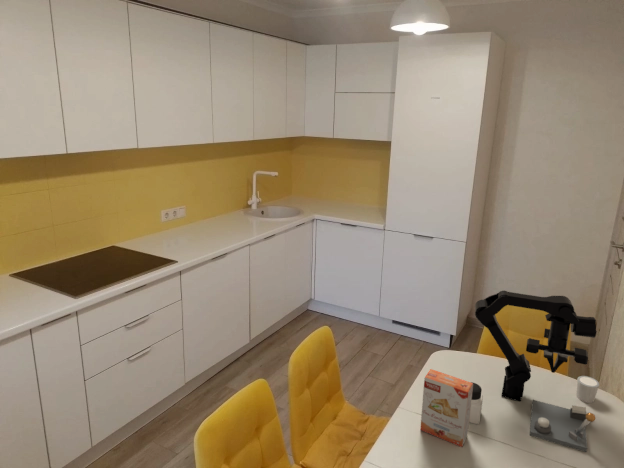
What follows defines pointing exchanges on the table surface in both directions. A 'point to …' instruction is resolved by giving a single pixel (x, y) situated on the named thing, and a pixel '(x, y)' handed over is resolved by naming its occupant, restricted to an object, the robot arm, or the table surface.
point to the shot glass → (586, 388)
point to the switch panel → (558, 425)
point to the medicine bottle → (476, 404)
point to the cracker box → (446, 407)
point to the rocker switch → (579, 409)
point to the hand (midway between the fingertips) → (552, 372)
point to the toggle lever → (585, 422)
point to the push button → (543, 422)
